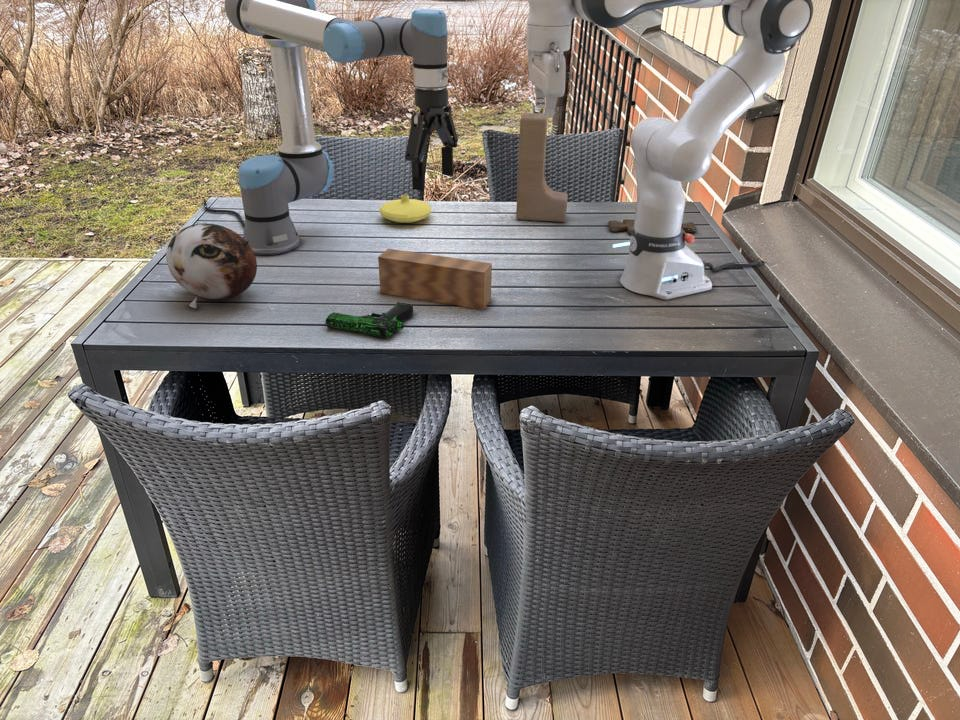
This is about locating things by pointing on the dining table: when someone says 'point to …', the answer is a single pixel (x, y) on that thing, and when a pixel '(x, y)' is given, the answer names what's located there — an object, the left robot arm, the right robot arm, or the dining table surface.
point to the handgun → (373, 321)
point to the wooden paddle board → (628, 225)
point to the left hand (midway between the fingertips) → (433, 182)
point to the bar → (435, 278)
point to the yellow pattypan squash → (405, 210)
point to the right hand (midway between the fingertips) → (544, 111)
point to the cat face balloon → (211, 261)
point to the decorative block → (536, 174)
